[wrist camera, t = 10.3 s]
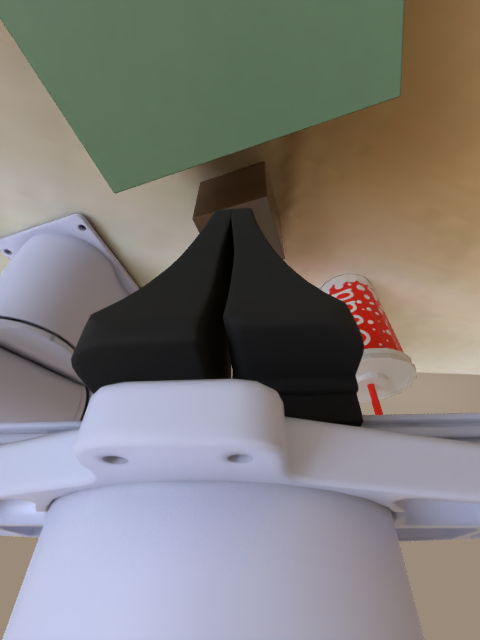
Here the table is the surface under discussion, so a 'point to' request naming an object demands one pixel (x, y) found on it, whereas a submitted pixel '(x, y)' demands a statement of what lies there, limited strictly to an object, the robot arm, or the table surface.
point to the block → (242, 201)
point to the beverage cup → (373, 342)
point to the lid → (204, 72)
